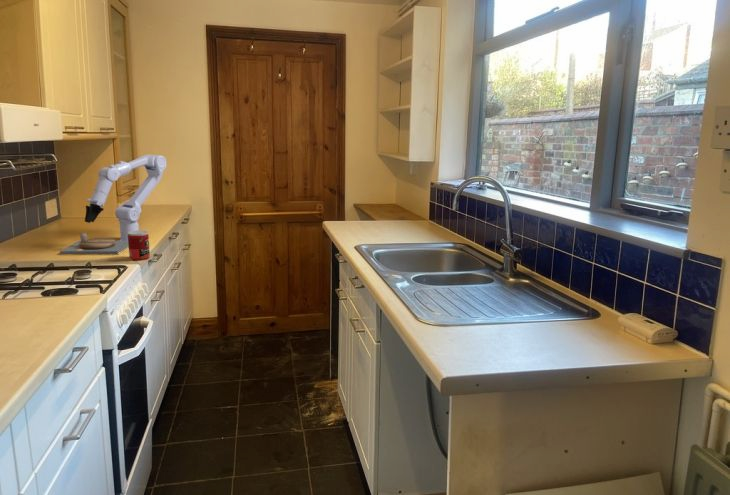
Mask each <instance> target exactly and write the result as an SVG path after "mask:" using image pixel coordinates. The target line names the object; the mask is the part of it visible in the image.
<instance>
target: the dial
mask: <svg viewBox="0 0 730 495" xmlns="http://www.w3.org/2000/svg"><path fill="white" fill-rule="evenodd" d="M79 234H80V235H79V236H80V241H81V242H79V247H80V248H83V249H102V248H108V247H111V246H114V245H115V241H116V240H115V239H114V238H109V237H100V238H98V237H97V238H88V236H87V233H86V232H82V233H81V232H80V233H79Z"/></svg>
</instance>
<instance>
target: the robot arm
mask: <svg viewBox="0 0 730 495" xmlns="http://www.w3.org/2000/svg"><path fill="white" fill-rule="evenodd" d="M167 164H168V163H167V160H166V157H165V156H163V155H157V154H149V153H148V154H145V155H142V156H139V157H138V158H135V159H134V160H131V161H129V162H126V161H123V160H119V161H118V163H115V164H110V165H109V166H108V167H105V166H104V167H102V168H101V169H100V170H98V172H97V173H98V174H97V175H98V179H97V182H96V185H95V188H94V190H93V192H92V194H91V197H90V198H87V199H86V201H87V202H89V205H85V217H84V222H85V223H87V224H90V223H94V222H95V220H96V219H97V217H99V215H100V214H101V212H103V211H104V210H105V208H104V206H105V203H106V200H107V198H108V195H109V193H110V191H111V188H112V186H113V184H114V182H116V181H118V179H119V178H122V177H123V176H126V175H129V174H130V173H131V171H132V170H134V169H137V168H141V167H144V169H145V171H146V173H147V175H148V176H147V177H146V178H145V179H144V181H143V182H142V183H141V184H140V186H139V187H138V188H137V190H136V191H135V192H134V194H133V195H132V197H130V199H129V200H127V201H125V202H123V203H122V204H121V205H119V206H118V207H116V209H115V212H114V214H115V217H116V218H117V219H118V222H119V231H120V234H119V235H120V239H118V240H117V241H128V232H130V231H137V230H140V229H139V228H140V226H139V222H138V220H139V219H140V215H141V213H142V212H143V210H142V208H141V207H142V205H143V204H144V202H145V201H146V200H147V198H148V197H149V196H150V194H151V193H152V192H153V190H155V188H156V187H157V185H158V184H159V182H160V181H161V179H162V177H163V174H164V171H165V169H166V168H167Z"/></svg>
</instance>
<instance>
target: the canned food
mask: <svg viewBox="0 0 730 495" xmlns="http://www.w3.org/2000/svg"><path fill="white" fill-rule="evenodd" d="M149 240H150V239H149V231H146V230H140V229H139V230H137V231H130V232H128V245H129V247H128V254H129V258H131V259H132V261H138V262H139V261H146V260H149V259H150V257H151V256H150V255H151V254H150V241H149ZM131 259H130V260H131Z"/></svg>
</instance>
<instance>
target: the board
mask: <svg viewBox="0 0 730 495" xmlns="http://www.w3.org/2000/svg"><path fill="white" fill-rule="evenodd" d="M79 242H81V240H77V241H76V242H74V243H72V244H70V245H69V246H67V247H66V248H64V249H61V250H60V255H61V254H118V253H119V252H121V251H122V250H124V249H125V248H126V249H128V248H129V247H128V246H129V245H128V241H118V240H115V245H114V246H111V247H108V248H102V249H83V248H80V247H79ZM127 247H128V248H127ZM126 249H125V250H126ZM125 250H124V251H125ZM122 252H123V251H122ZM122 252H121V253H122ZM118 255H119V254H118Z"/></svg>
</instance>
